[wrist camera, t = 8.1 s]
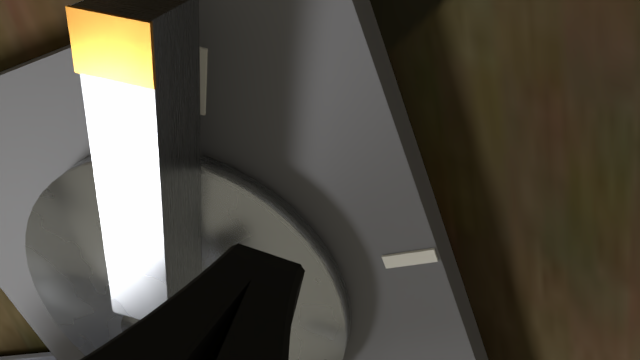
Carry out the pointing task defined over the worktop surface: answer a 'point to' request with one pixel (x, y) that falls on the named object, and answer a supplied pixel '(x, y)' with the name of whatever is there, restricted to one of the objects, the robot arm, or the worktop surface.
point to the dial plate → (275, 164)
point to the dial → (159, 191)
